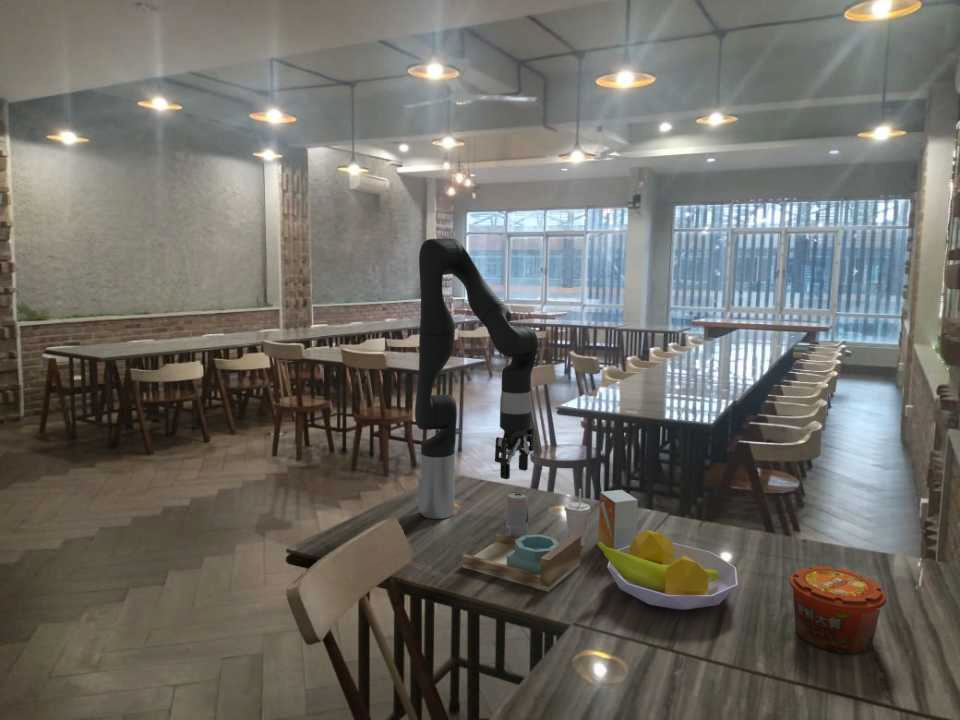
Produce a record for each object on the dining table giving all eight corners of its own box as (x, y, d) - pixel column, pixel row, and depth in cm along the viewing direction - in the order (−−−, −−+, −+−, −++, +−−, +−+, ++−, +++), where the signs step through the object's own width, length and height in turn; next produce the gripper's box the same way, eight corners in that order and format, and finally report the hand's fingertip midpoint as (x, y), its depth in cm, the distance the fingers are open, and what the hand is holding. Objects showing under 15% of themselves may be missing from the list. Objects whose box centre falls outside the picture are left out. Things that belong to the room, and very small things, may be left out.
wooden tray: (462, 567, 160) (462, 537, 159) (498, 544, 173) (498, 516, 172) (548, 591, 148) (549, 560, 147) (580, 565, 161) (580, 535, 160)
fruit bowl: (732, 575, 157) (735, 526, 155) (738, 635, 131) (741, 578, 130) (607, 558, 165) (608, 512, 164) (588, 612, 140) (590, 558, 138)
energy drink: (527, 537, 177) (528, 492, 176) (527, 546, 172) (528, 499, 170) (506, 536, 178) (507, 491, 176) (505, 545, 172) (506, 498, 171)
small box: (597, 541, 175) (599, 491, 173) (620, 538, 177) (622, 489, 175) (613, 554, 167) (614, 502, 166) (636, 551, 169) (638, 499, 168)
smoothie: (591, 549, 170) (592, 493, 169) (564, 548, 171) (566, 493, 169) (587, 538, 177) (589, 485, 175) (562, 538, 177) (563, 484, 175)
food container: (799, 607, 142) (803, 557, 141) (889, 634, 132) (894, 580, 131) (774, 639, 130) (778, 584, 129) (871, 671, 120) (877, 612, 118)
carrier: (506, 567, 157) (507, 545, 156) (528, 552, 165) (528, 531, 164) (546, 578, 151) (547, 555, 151) (566, 562, 160) (567, 540, 159)
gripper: (513, 416, 161) (512, 484, 163) (543, 406, 172) (541, 469, 175) (486, 412, 165) (485, 478, 167) (517, 402, 176) (516, 464, 179)
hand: (514, 474), depth 171 cm, fingers open, 8 cm apart
